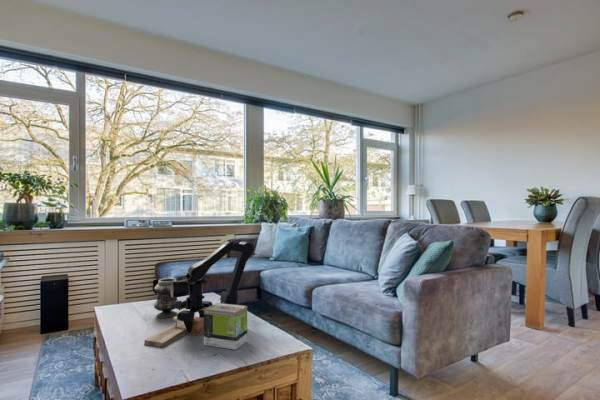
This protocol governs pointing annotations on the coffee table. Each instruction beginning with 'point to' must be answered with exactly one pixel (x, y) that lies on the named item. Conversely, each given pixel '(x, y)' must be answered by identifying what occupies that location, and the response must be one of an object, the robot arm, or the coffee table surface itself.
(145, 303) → the coffee table surface
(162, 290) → the apothecary jar
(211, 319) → the tea box
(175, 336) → the board
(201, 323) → the terracotta strapped cube
